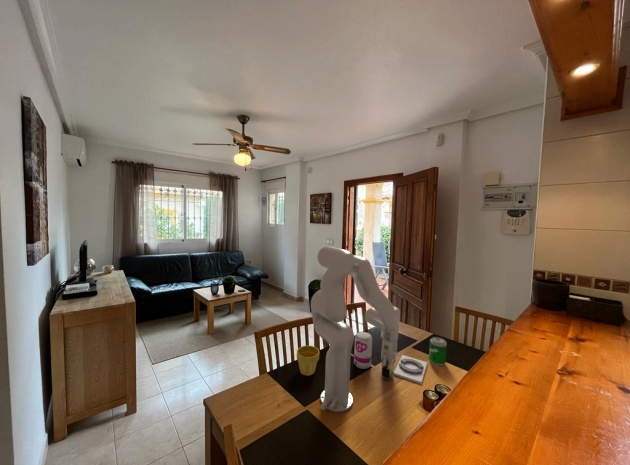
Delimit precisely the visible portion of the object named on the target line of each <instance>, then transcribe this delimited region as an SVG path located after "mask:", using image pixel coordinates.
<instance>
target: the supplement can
mask: <svg viewBox="0 0 630 465" xmlns="http://www.w3.org/2000/svg"><path fill="white" fill-rule="evenodd" d="M372 350H373V337H372V335H371V333H369V332H366V331H358V332H357V333H356V334H355V335H354V353H353V354H354V355H353V356H354V357H353V363H354V365H355V367H357V368H359V369H362V370H364V369H365V370H366V369H369V368H370V367H372V353H373V351H372Z"/></svg>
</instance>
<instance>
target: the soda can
mask: <svg viewBox="0 0 630 465" xmlns="http://www.w3.org/2000/svg"><path fill="white" fill-rule="evenodd" d="M447 345H448V344H447V341H446V340H445V339H444V338H442V337H439V336H433V337H432V338H430V339H429V349H428V350H429V353H428V360H429V362H430V363H431V364H432V365H434V366H436V367H443V366H444V365H445V364H446V363H447V362H446V360H447V348H448V347H447Z"/></svg>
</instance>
